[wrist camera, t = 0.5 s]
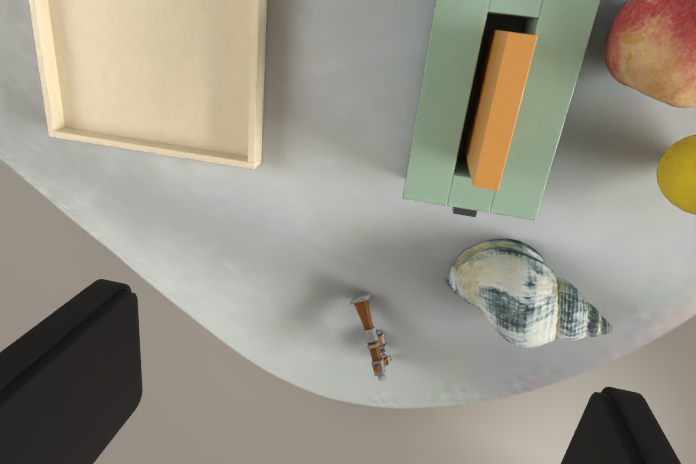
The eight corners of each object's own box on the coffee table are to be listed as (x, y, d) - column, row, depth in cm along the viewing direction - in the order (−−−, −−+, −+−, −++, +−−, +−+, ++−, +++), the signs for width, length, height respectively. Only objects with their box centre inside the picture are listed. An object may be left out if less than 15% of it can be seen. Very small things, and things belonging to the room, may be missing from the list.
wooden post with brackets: (382, 371, 49) (371, 385, 44) (360, 294, 49) (347, 301, 45) (399, 368, 48) (389, 381, 44) (377, 290, 49) (365, 296, 45)
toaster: (441, -31, 35) (442, -39, 30) (584, -15, 34) (607, -21, 29) (404, 190, 42) (400, 211, 37) (521, 209, 41) (532, 232, 36)
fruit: (570, 38, 35) (604, 43, 28) (672, -47, 32) (740, -67, 25) (631, 118, 37) (679, 142, 29) (734, 43, 34) (816, 49, 26)
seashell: (490, 216, 43) (581, 302, 45) (435, 279, 43) (528, 363, 45) (524, 220, 37) (628, 320, 38) (459, 294, 37) (566, 391, 38)
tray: (38, -55, 39) (19, -59, 37) (268, -29, 37) (260, -31, 35) (64, 132, 45) (48, 136, 43) (261, 163, 43) (253, 169, 41)
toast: (489, 29, 35) (508, 31, 26) (511, 31, 35) (538, 35, 26) (463, 148, 39) (472, 186, 30) (483, 151, 39) (498, 191, 30)
